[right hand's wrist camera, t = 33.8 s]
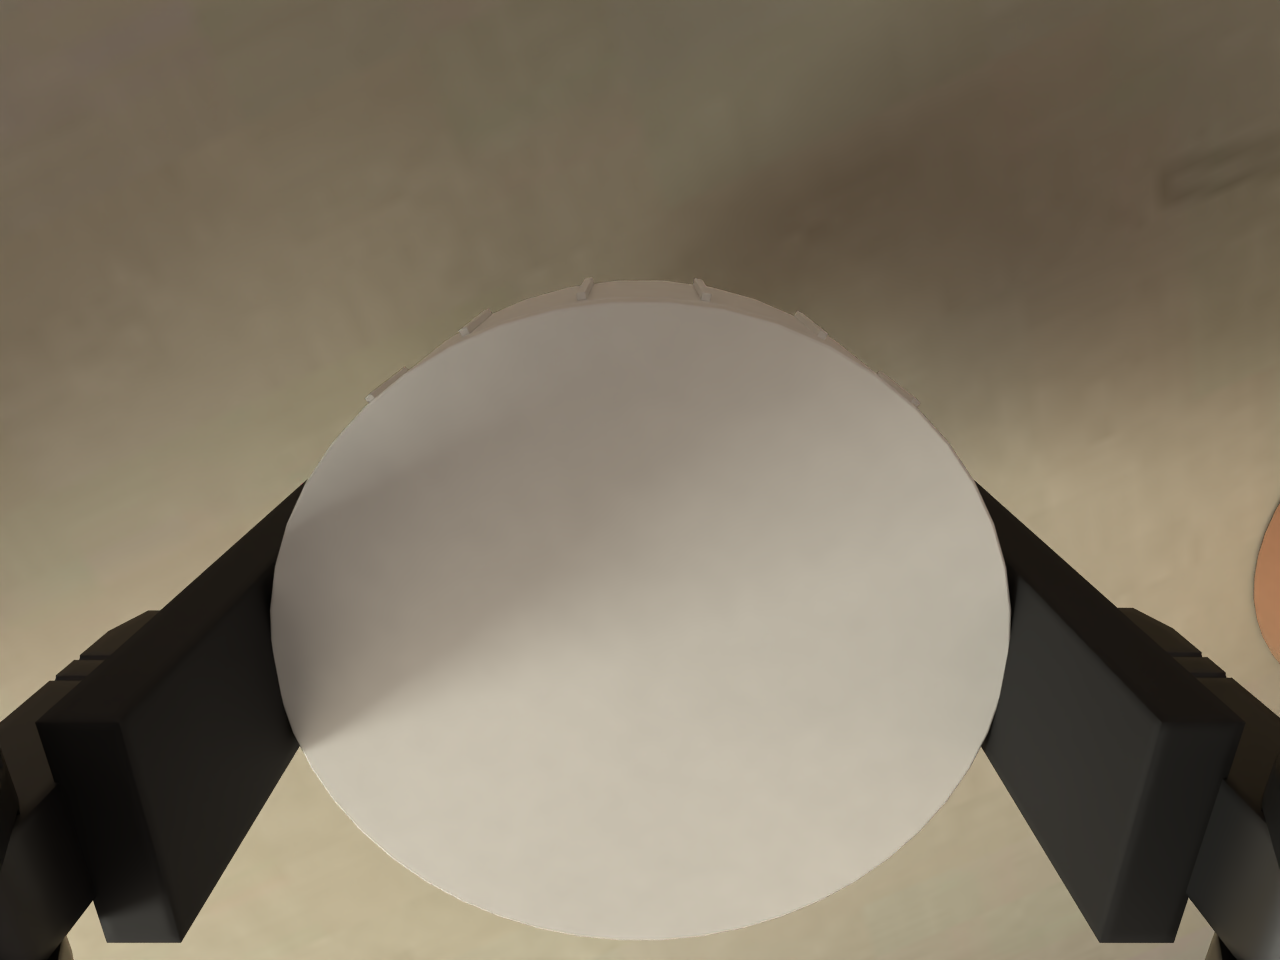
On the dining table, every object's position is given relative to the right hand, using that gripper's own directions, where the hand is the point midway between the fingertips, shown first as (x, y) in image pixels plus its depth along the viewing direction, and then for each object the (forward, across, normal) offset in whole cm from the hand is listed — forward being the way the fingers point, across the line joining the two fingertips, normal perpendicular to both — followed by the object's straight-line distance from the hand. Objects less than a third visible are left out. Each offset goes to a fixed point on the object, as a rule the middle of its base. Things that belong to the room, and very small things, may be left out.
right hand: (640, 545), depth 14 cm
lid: (-3, 0, 0) cm, 3 cm away
